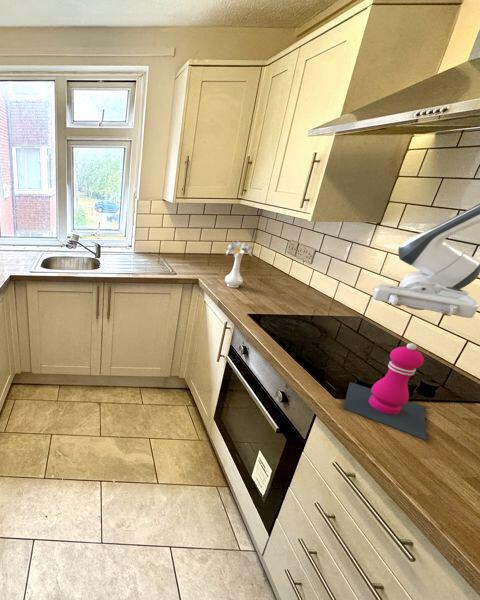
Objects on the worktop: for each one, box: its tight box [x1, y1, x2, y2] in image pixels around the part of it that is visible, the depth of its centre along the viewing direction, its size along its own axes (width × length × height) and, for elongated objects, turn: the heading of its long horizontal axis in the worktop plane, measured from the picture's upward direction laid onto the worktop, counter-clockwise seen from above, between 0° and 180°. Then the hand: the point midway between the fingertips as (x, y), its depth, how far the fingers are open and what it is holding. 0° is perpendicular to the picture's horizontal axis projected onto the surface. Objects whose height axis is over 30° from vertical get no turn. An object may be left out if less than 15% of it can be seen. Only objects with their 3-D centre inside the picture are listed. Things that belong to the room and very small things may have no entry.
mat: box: [342, 381, 428, 441], centre depth 86 cm, size 16×16×1 cm
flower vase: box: [224, 240, 253, 289], centre depth 173 cm, size 13×18×25 cm
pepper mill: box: [369, 342, 425, 415], centre depth 83 cm, size 7×7×20 cm
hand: (421, 307), depth 84 cm, fingers open, 8 cm apart
